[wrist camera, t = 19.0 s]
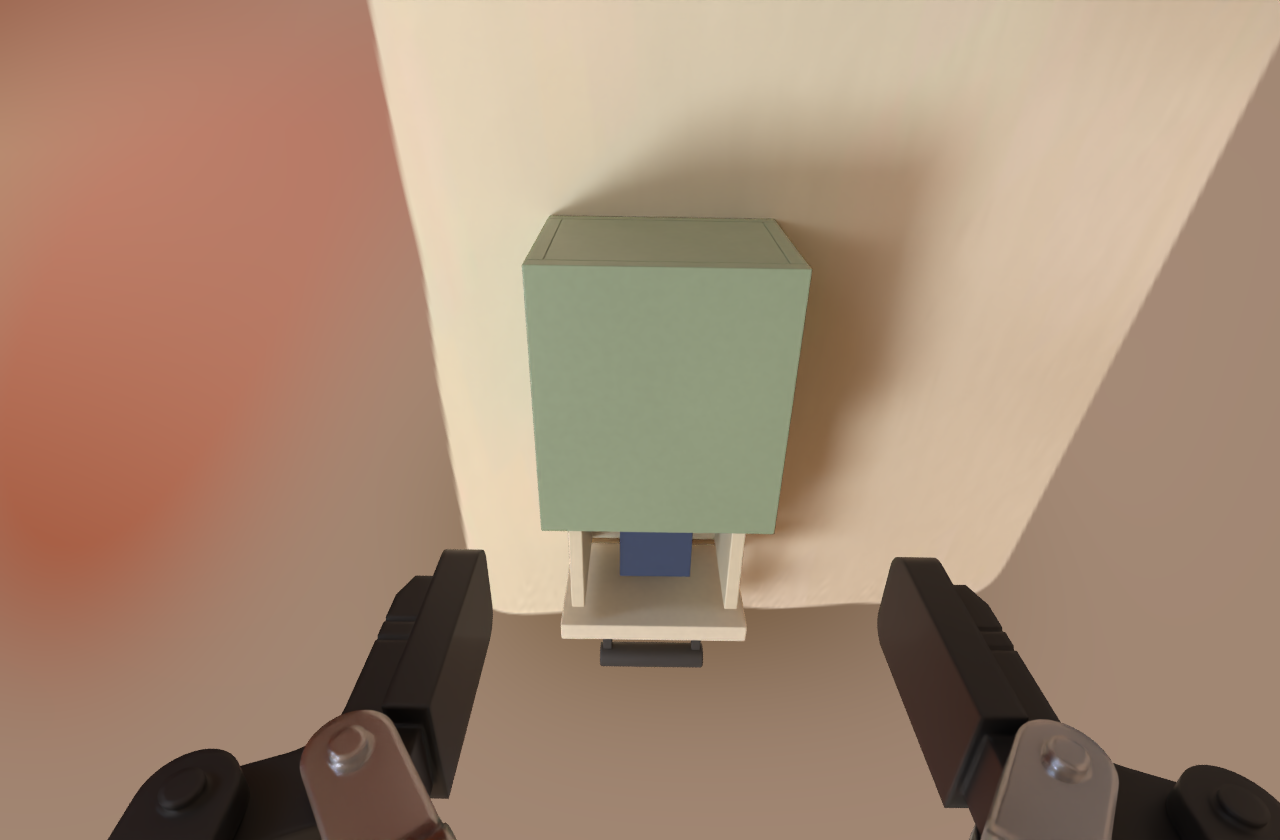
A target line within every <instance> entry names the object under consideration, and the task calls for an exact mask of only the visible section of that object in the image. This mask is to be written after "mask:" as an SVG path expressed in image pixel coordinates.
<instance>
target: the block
mask: <svg viewBox="0 0 1280 840" xmlns="http://www.w3.org/2000/svg"><path fill="white" fill-rule="evenodd" d="M692 537H693V533H668V532H620V576H670V577H690V569H691V553H692Z"/></svg>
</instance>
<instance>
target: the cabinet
mask: <svg viewBox="0 0 1280 840" xmlns="http://www.w3.org/2000/svg"><path fill="white" fill-rule="evenodd" d="M522 272H523V286H524V300H525V313H526V327H527V341H528V354H529V368H530V382H531V395H532V409H533V423H534V436H535V450H536V464H537V477H538V491H539V505H540V518H541V530H542V531H600V532H668V533H735V534H774V532H775V525H776V518H777V511H778V504H779V497H780V490H781V483H782V476H783V469H784V462H785V455H786V449H787V442H788V435H789V428H790V421H791V414H792V407H793V400H794V393H795V386H796V379H797V372H798V365H799V358H800V351H801V344H802V337H803V330H804V324H805V317H806V310H807V303H808V296H809V289H810V282H811V275H812V269H811V267H810V266H809V265H808V264H807V262H806V261H805V260H804V258H803V257H802V256H801V254H800V253H799V252H798V250H797V249H796V248H795V246H794V245H793V244H792V242H791V241H790V240H789V238H788V237H787V236H786V234H785V233H784V232H783V230H782V229H781V228H780V226H779V225H778V224H777V222H776V221H775V220H774V219H732V218H671V217H609V216H549V218H548V219H547V221H546V223H545V224H544V226H543V228H542V230H541V232H540V233H539V235H538V237H537V239H536V241H535V243H534V244H533V246H532V248H531V250H530V252H529V253H528V255H527V257H526V259H525V261H524V262H523V264H522Z"/></svg>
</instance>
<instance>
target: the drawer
mask: <svg viewBox="0 0 1280 840" xmlns="http://www.w3.org/2000/svg"><path fill="white" fill-rule="evenodd" d="M745 537H746V534H735V533H693V537H692V539H714V541H715V545H703V544H692V553H691V569H690V577H670V576H620V543H592V538H620V532H600V531H568V539H569V559H570V564H569V571H568V578H567V585H566V592H565V599H564V606H563V613H562V620H561V636H562V638H566V639H603V642H601V647H600V665H601V666H634V667H702V665H703V648H702V644H701V643H700V642H701V640H706V641H745V638H746V630H747V626H746V620H745V615H744V608H743V603H742V597H741V592H740V579H741V571H742V562H743V554H744V545H745ZM612 639H637V640H638V639H640V640H643V639H644V640H691V643H664V642H612Z"/></svg>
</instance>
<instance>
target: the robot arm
mask: <svg viewBox="0 0 1280 840" xmlns="http://www.w3.org/2000/svg"><path fill="white" fill-rule="evenodd" d="M492 617H493V610H492V600H491V592H490V584H489V576H488V569H487V561H486V555H485V552H484V550H461V549H460V550H458V549H457V550H456V549H446V550H444V551H443V553H442V555H441V557H440V560H439V562H438V565H437V567H436V570H435V572H434V575H433V576H415V577H414V578H413V579H412V580H411V581H410V582H409V583H408V584H407V585H406V586H405V587H404V588H403V589H401V590H400V591H399V592H398V593H397V594H396V596H395V598H394V600H393V603H392V605H391V607H390V609H389V611H388V614H387V616H386V621H385V622H384V623H383V625H382V627H381V629H380V632H379V634H378V639H377V640H376V641H375V642H374V645H373V647H372V649H371V652H370V654H369V656H368V658H367V660H366V662H365V665H364V667H363V669H362V672H361V674H360V676H359V678H358V680H357V682H356V685H355V687H354V689H353V691H352V694H351V696H350V698H349V700H348V703H347V705H346V707H345V709H344V711H343V712H342V714H341V715H340V716H338V717H336V718H334V719H332V720H331V721H329V722H328V723H326V724H325V725H324V726H322V727H321V728H320V729H319V730H318V731H317V732H316V733H315V734H314V735H313V736H312V737H311V739H310V740H309V741H308V743H307V744H306V746H304V747H302V748H300V749H297V750H295V751H292V752H289V753H286V754H282V755H278V756H275V757H272V758H268V759H264V760H260V761H257V762H253V763H249V764H246V765H242V766H240V765H239V763H238V761H237V760H236V758H235V757H234V756H233V755H232V754H231V753H229V752H226V751H224V750H220V749H203V750H198V751H194V752H191V753H188V754H185V755H183V756H181V757H179V758H176V759H174V760H173V761H171V762H169V763H168V764H166V765H165V766H163V767H162V768H160V769H159V770H158V771H157V772H155V773H154V774H153V775H152V776H151V777H150V778H149V779H148V780H147V781H146V782H145V783H144V784H143V785H142V786H141V788H140V789H139V791H138V792H137V793H136V795H135V796H134V798H133V799H132V801H131V803H130V804H129V806H128V808H127V809H126V811H125V812H124V814H123V816H122V817H121V819H120V821H119V822H118V824H117V825H116V827H115V829H114V830H113V832H112V834H111V835H110V837H109V838H108V840H457V839H456V837H455V835H454V834H453V832H452V830H451V828H450V827H449V825H448V824H447V823H444V824H443V823H442V821H441V819H440V818H439V816H438V814H437V812H436V810H435V808H434V805H433V803H432V801H431V799H430V798H442V799H444V798H445V799H448V798H449V795H450V792H451V788H452V784H453V780H454V776H455V772H456V768H457V764H458V761H459V757H460V753H461V749H462V745H463V741H464V738H465V734H466V730H467V726H468V722H469V718H470V714H471V711H472V707H473V703H474V699H475V695H476V691H477V687H478V684H479V679H480V676H481V672H482V668H483V664H484V660H485V656H486V653H487V649H488V645H489V641H490V636H491V630H492V619H493V618H492ZM877 624H878V625H877V626H878V636H879V641H880V645H881V648H882V650H883V653H884V655H885V658H886V660H887V663H888V666H889V668H890V670H891V673H892V676H893V678H894V681H895V683H896V686H897V688H898V691H899V693H900V696H901V698H902V701H903V704H904V706H905V708H906V711H907V714H908V716H909V719H910V721H911V724H912V726H913V729H914V732H915V734H916V737H917V739H918V742H919V744H920V747H921V749H922V752H923V754H924V757H925V760H926V762H927V765H928V767H929V770H930V772H931V775H932V777H933V780H934V782H935V784H936V787H937V790H938V793H939V795H940V797H941V800H942V803H943V805H944V807H945V808H969V810H970V812H971V815H972V817H973V819H974V822H975V826H974V828H973V830H972V832H971V835H970V838H969V840H1280V803H1279V802H1278V801H1277V800H1276V799H1275V798H1274V797H1273V796H1271V795H1270V794H1269V793H1268V792H1267V791H1265V790H1264V789H1263V788H1261V787H1260V786H1258V785H1257V784H1255V783H1254V782H1252V781H1250V780H1249V779H1247V778H1245V777H1243V776H1241V775H1239V774H1237V773H1235V772H1232V771H1229V770H1227V769H1224V768H1220V767H1216V766H1210V765H1197V766H1193V767H1190V768H1188V769H1187V770H1185V772H1184V773H1183V774H1182V775H1181V777H1180V778H1179V780H1178V781H1177V782H1174V781H1170V780H1167V779H1164V778H1160V777H1157V776H1153V775H1150V774H1146V773H1143V772H1140V771H1136V770H1133V769H1129V768H1126V767H1123V766H1120V765H1117V764H1115V763H1112V761H1111V759H1110V758H1109V757H1108V755H1107V754H1106V753H1105V752H1104V750H1103V749H1102V748H1100V746H1099V745H1098V744H1097V743H1095V742H1094V741H1093V740H1092V739H1091V738H1089V737H1087V736H1086V735H1085V734H1083V733H1082V732H1080V731H1078V730H1077V729H1075V728H1073V727H1070V726H1068V725H1066V724H1063V723H1061V722H1060V720H1059V719H1058V717H1057V716H1056V714H1055V713H1054V711H1053V709H1052V708H1051V706H1050V705H1049V703H1048V701H1047V700H1046V698H1045V696H1044V695H1043V693H1042V692H1041V690H1040V688H1039V686H1038V685H1037V683H1036V682H1035V680H1034V678H1033V677H1032V675H1031V674H1030V672H1029V670H1028V669H1027V667H1026V665H1025V664H1024V662H1023V660H1022V659H1021V657H1020V656H1019V654H1018V652H1017V651H1014V647H1013V644H1012V643H1011V641H1010V639H1009V638H1008V636H1007V634H1006V633H1005V632H1003V631H1002V627H1001V625H1000V623H999V621H998V620H997V618H996V617H995V615H994V613H993V612H992V610H991V608H990V607H989V605H988V604H987V603H986V602H984V601H983V600H982V599H981V598H980V597H978V596H977V595H976V594H975V593H974V592H973V591H972V590H971V589H969V588H968V587H967V586H966V585H953V584H952V582H951V580H950V578H949V577H948V575H947V573H946V571H945V570H944V568H943V566H942V564H941V563H940V561H939V560H938V559H936V558H918V557H896V558H894V560H893V561H892V563H891V566H890V570H889V574H888V578H887V582H886V585H885V589H884V593H883V597H882V601H881V605H880V609H879V613H878V622H877Z"/></svg>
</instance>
